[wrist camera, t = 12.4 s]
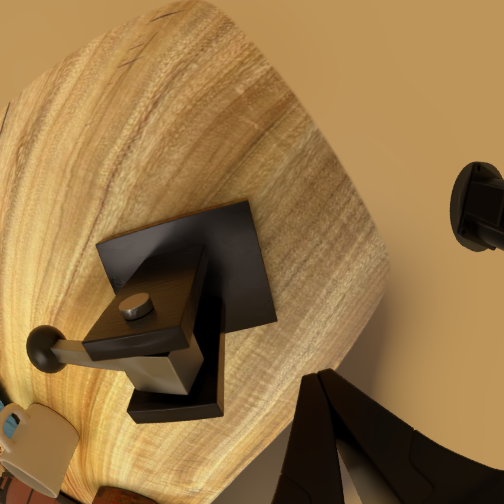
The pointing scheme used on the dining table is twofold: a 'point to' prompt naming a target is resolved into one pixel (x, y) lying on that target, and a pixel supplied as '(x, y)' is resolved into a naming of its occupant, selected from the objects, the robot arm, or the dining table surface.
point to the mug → (38, 447)
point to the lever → (118, 362)
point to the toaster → (24, 493)
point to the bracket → (182, 301)
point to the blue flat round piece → (9, 423)
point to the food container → (119, 497)
